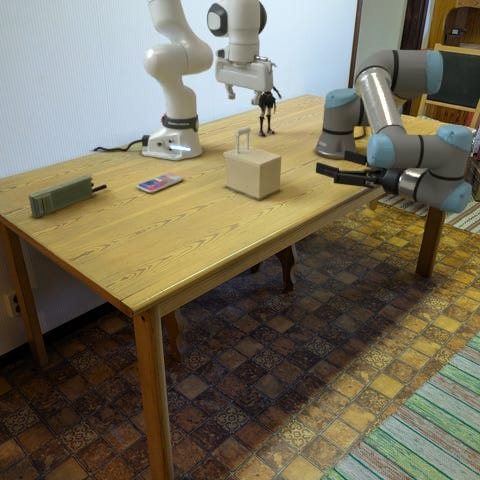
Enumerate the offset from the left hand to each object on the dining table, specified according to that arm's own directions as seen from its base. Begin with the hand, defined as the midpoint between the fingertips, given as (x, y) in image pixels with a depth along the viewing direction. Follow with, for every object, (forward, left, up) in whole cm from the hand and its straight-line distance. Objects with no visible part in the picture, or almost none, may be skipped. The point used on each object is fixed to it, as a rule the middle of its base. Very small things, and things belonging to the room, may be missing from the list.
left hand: (243, 102), depth 151 cm
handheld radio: (-47, -24, -27) cm, 59 cm away
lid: (+3, -2, -17) cm, 17 cm away
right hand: (+28, -17, -10) cm, 34 cm away
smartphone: (-26, -5, -27) cm, 38 cm away
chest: (+4, -2, -27) cm, 27 cm away
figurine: (0, +55, -27) cm, 61 cm away
